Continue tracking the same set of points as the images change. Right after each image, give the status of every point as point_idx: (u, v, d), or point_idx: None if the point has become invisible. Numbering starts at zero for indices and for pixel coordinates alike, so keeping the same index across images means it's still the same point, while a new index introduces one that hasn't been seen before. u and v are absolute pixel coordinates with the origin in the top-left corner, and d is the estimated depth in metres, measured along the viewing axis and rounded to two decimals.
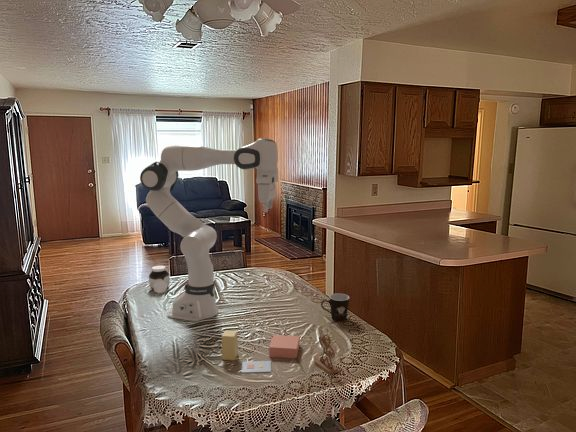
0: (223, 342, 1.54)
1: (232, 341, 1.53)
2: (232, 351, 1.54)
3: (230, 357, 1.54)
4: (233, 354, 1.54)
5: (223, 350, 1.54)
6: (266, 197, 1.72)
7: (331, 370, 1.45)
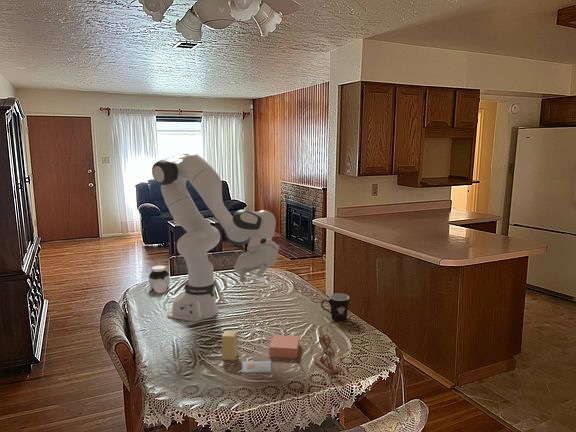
0: (223, 342, 1.54)
1: (232, 341, 1.53)
2: (232, 351, 1.54)
3: (230, 357, 1.54)
4: (233, 354, 1.54)
5: (223, 350, 1.54)
6: (275, 259, 1.60)
7: (331, 370, 1.45)
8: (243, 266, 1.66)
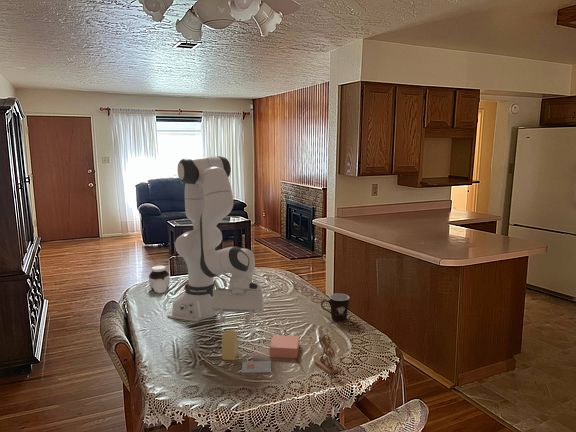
0: (223, 342, 1.54)
1: (232, 341, 1.53)
2: (232, 351, 1.54)
3: (230, 357, 1.54)
4: (233, 354, 1.54)
5: (223, 350, 1.54)
6: (263, 307, 1.64)
7: (331, 370, 1.45)
8: (225, 306, 1.62)
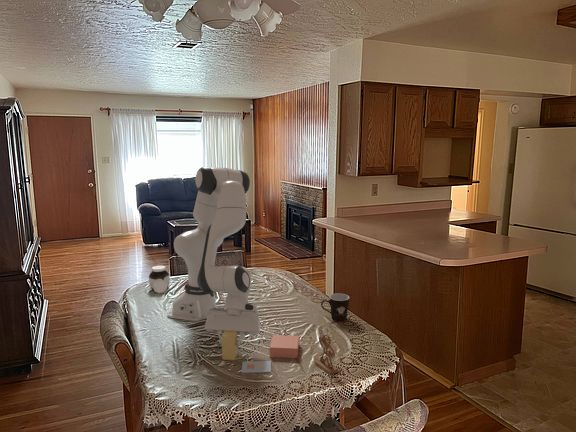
0: (223, 342, 1.54)
1: (232, 341, 1.53)
2: (232, 351, 1.54)
3: (230, 357, 1.54)
4: (233, 354, 1.54)
5: (223, 350, 1.54)
6: (259, 329, 1.59)
7: (331, 370, 1.45)
8: (220, 328, 1.57)
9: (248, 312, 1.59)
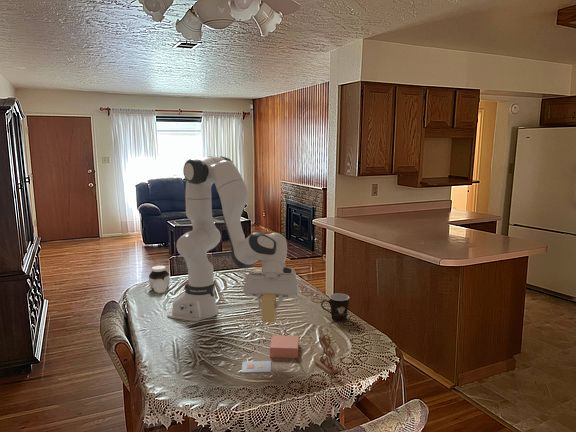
0: (263, 304, 1.54)
1: (272, 303, 1.53)
2: (272, 313, 1.54)
3: (270, 319, 1.54)
4: (273, 316, 1.54)
5: (262, 313, 1.54)
6: None
7: (331, 370, 1.45)
8: (259, 291, 1.58)
9: (286, 275, 1.59)
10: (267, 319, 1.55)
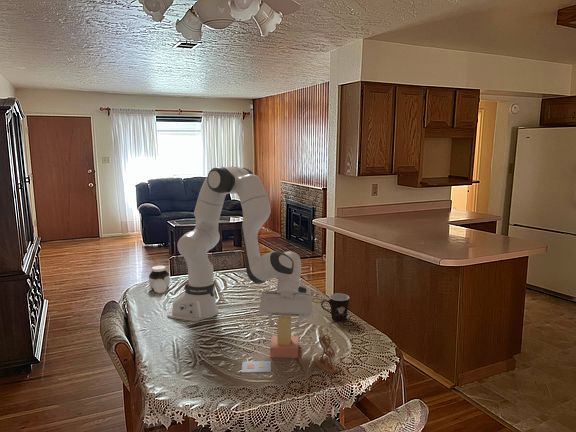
0: (278, 327, 1.57)
1: (287, 326, 1.57)
2: (287, 336, 1.57)
3: (285, 342, 1.58)
4: (288, 339, 1.57)
5: (278, 335, 1.58)
6: None
7: (331, 370, 1.45)
8: (274, 310, 1.61)
9: (301, 295, 1.62)
10: (283, 342, 1.58)
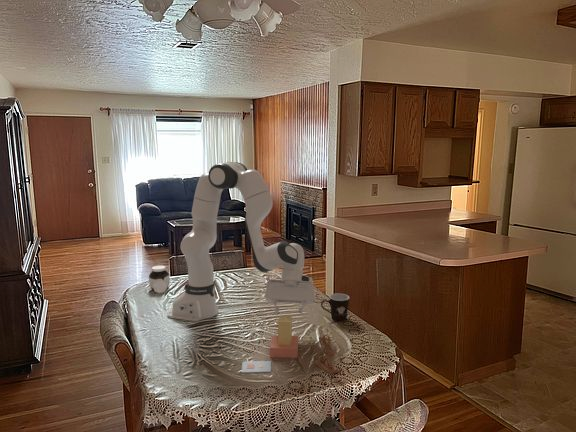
0: (279, 328, 1.57)
1: (288, 327, 1.56)
2: (288, 336, 1.57)
3: (286, 342, 1.58)
4: (289, 339, 1.57)
5: (279, 336, 1.58)
6: None
7: (331, 370, 1.45)
8: (279, 297, 1.73)
9: (304, 283, 1.74)
10: (283, 342, 1.58)
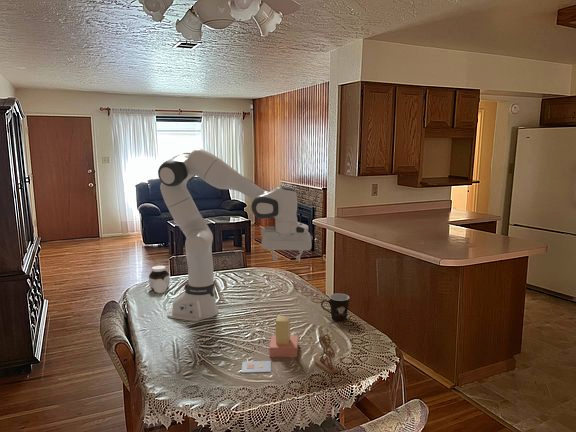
0: (277, 327, 1.57)
1: (286, 326, 1.57)
2: (286, 336, 1.57)
3: (284, 342, 1.58)
4: (287, 339, 1.58)
5: (276, 335, 1.58)
6: (311, 243, 1.74)
7: (331, 370, 1.45)
8: (276, 248, 1.73)
9: (300, 234, 1.70)
10: (281, 341, 1.58)
